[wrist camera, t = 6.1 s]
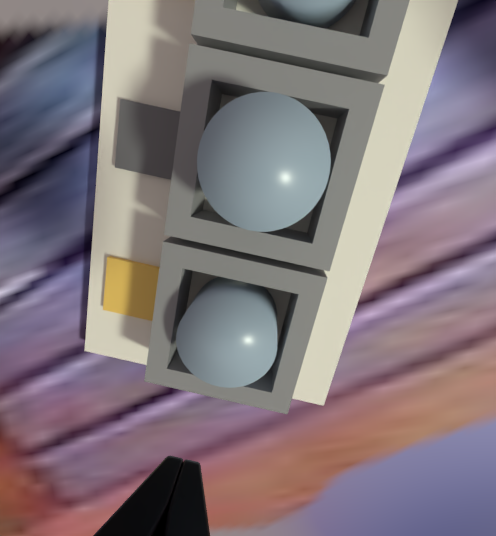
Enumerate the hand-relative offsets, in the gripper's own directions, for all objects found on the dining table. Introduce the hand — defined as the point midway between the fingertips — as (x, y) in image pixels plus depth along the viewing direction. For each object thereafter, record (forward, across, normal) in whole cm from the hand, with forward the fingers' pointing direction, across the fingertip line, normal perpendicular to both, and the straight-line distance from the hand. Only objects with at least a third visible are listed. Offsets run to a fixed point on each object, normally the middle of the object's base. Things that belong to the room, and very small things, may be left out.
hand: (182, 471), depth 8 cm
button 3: (+9, 0, 0) cm, 9 cm away
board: (+10, +1, -8) cm, 13 cm away
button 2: (+8, 0, -8) cm, 11 cm away
